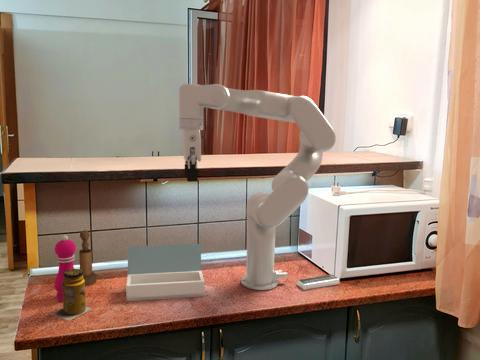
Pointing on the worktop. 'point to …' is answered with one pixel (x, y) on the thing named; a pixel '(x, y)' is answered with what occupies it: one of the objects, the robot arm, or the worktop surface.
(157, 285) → the white open box
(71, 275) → the condiment
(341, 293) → the worktop surface
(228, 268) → the worktop surface
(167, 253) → the cover
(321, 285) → the multiport hub
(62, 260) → the pepper mill
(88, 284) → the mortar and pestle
